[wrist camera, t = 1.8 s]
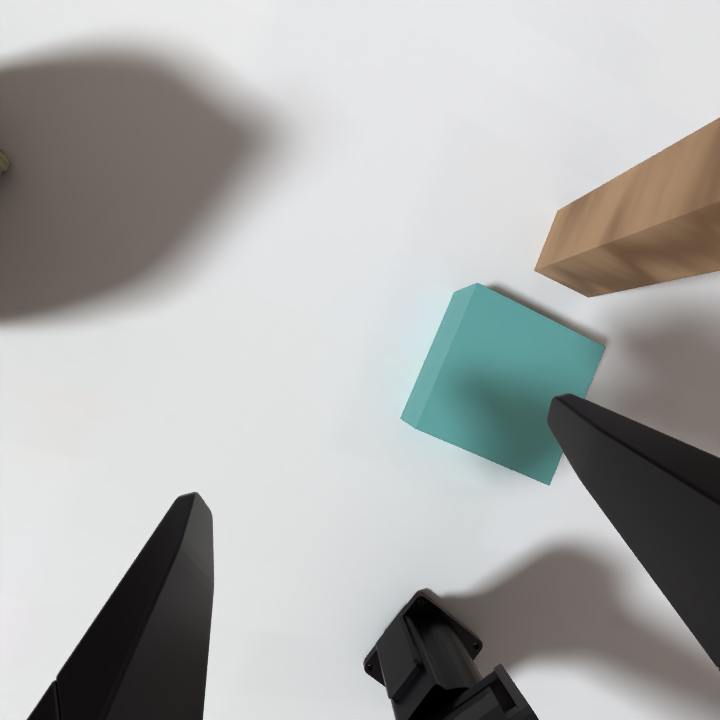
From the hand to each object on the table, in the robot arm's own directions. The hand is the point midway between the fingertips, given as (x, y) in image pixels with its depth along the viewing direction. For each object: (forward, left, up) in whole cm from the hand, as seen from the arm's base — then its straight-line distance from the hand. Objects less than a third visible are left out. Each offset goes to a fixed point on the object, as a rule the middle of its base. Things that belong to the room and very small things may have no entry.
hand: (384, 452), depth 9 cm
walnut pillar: (-7, -20, -17) cm, 27 cm away
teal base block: (-8, -8, -17) cm, 21 cm away
